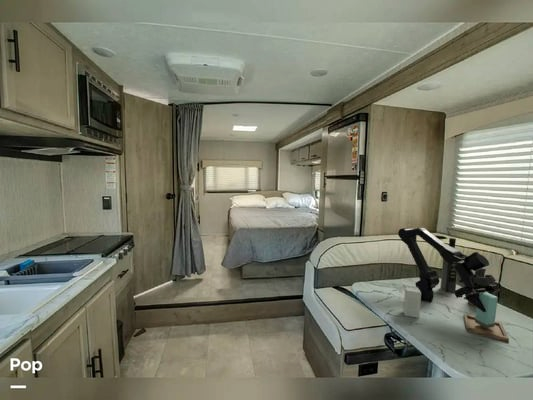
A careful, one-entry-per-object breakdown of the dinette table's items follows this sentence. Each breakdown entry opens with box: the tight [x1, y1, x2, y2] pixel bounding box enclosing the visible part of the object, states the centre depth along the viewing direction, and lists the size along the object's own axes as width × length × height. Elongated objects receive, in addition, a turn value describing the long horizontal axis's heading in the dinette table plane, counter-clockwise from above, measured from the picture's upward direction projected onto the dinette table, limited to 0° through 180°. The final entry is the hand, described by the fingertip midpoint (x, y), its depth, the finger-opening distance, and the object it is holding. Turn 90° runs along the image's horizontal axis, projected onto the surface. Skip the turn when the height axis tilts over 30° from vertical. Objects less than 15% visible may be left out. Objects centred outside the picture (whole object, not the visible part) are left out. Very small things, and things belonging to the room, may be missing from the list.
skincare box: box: [403, 286, 422, 319], centre depth 119 cm, size 6×4×12 cm
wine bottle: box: [440, 237, 459, 293], centre depth 145 cm, size 6×6×30 cm
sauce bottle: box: [467, 267, 487, 307], centre depth 130 cm, size 7×6×20 cm
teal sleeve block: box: [475, 292, 499, 328], centre depth 109 cm, size 4×4×13 cm
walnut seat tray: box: [463, 313, 510, 343], centre depth 110 cm, size 13×13×2 cm
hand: (489, 311), depth 108 cm, fingers closed on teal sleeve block, 4 cm apart
